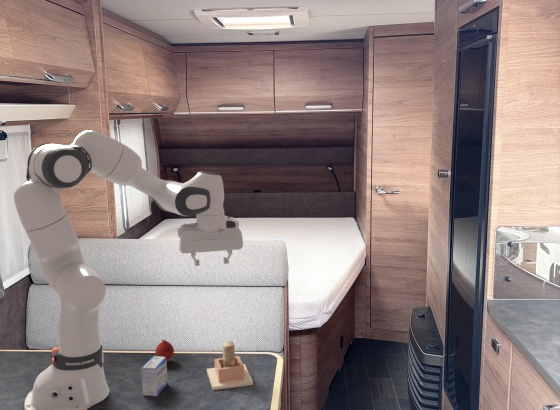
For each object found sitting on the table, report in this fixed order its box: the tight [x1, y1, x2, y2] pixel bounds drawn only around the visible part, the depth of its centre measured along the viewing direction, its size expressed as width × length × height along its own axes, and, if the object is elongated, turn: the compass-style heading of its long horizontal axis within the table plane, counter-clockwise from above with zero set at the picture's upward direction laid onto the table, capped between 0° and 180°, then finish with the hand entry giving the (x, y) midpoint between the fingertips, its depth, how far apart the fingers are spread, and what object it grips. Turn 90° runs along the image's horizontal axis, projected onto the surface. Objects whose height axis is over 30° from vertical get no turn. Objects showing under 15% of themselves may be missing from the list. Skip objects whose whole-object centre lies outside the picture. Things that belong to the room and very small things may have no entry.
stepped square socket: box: [206, 355, 254, 391], centre depth 171 cm, size 12×12×5 cm
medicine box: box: [141, 355, 168, 397], centre depth 164 cm, size 8×4×9 cm, turn 168°
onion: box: [155, 338, 175, 363], centre depth 181 cm, size 6×6×8 cm
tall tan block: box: [222, 340, 236, 368], centre depth 171 cm, size 3×3×10 cm
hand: (211, 264), depth 182 cm, fingers open, 8 cm apart
